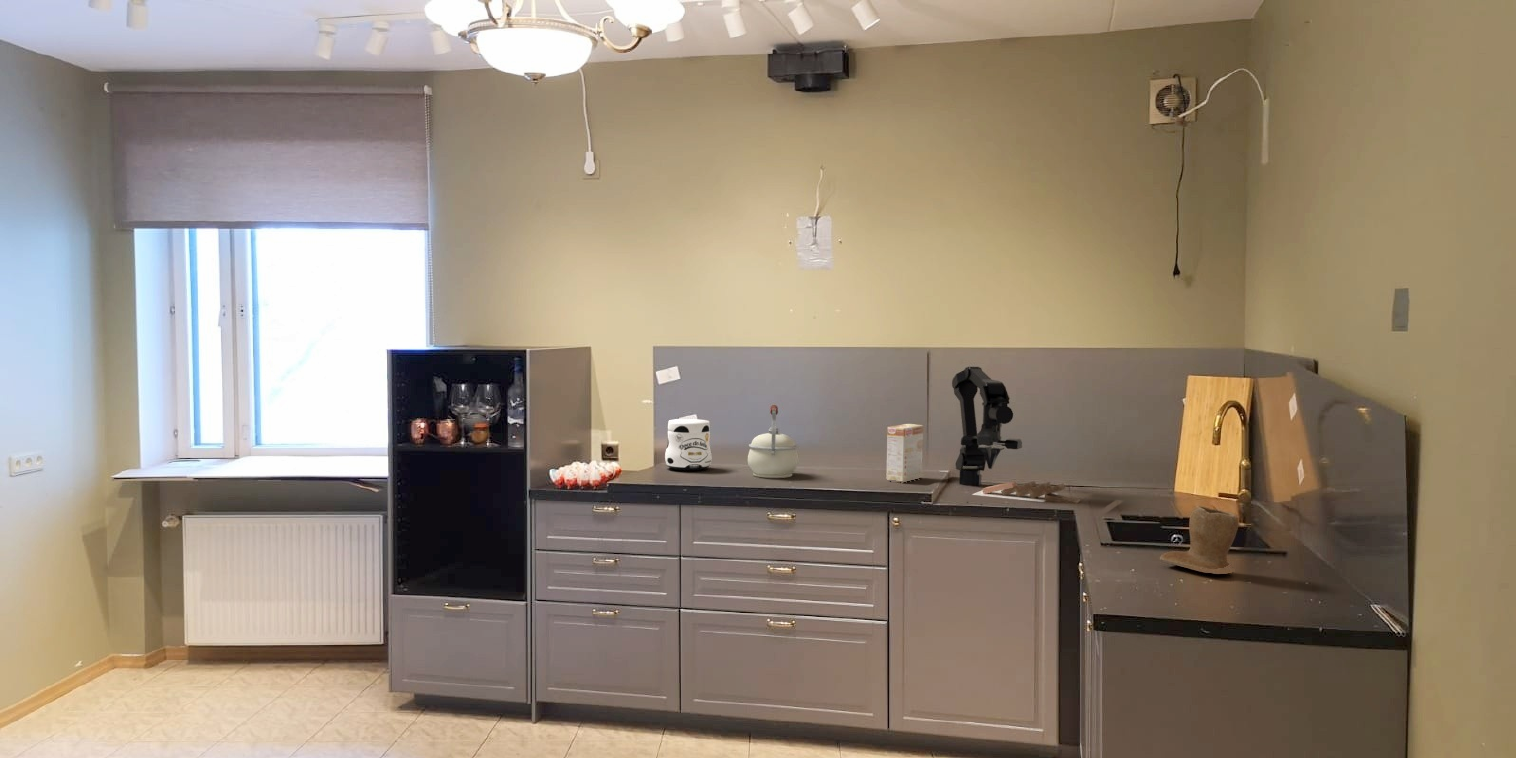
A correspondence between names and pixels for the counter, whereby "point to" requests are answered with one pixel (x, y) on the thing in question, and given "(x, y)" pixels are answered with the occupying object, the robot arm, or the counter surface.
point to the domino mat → (1011, 496)
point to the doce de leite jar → (688, 444)
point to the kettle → (773, 453)
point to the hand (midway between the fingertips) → (990, 468)
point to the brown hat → (1207, 539)
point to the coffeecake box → (904, 452)
